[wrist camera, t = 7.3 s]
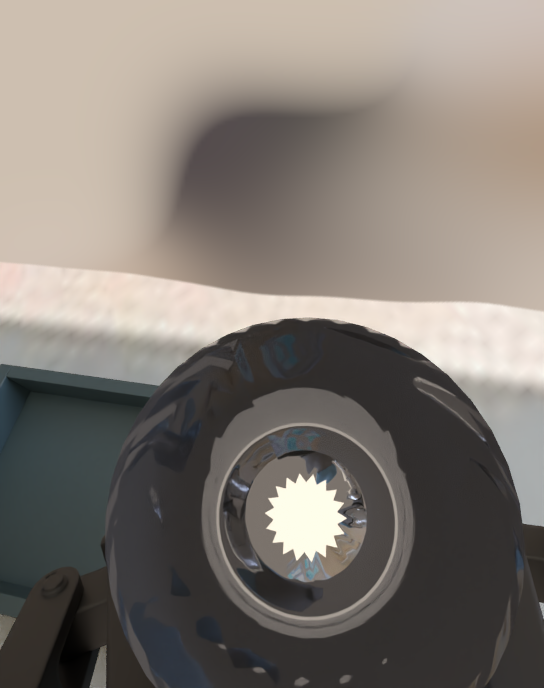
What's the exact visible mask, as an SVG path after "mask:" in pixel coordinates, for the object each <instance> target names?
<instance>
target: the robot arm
mask: <svg viewBox="0 0 544 688" xmlns="http://www.w3.org/2000/svg"><path fill="white" fill-rule="evenodd" d="M522 526H523V534H524V542H525V553H524V577H523V590H522V595H521V599H520V603H519V608H518V612H517V617H516V621H515V625H514V630H513V633H512V635H511V637H510V640H509V642H508V644H507V646H506V649H505V651H504V653H503V655H502V658H501V660H500V662H499V664H498V667H497V669H496V671H495V673H494V675H493V676H492V678H491V679H490V680H489V682H488V683H487V684H486V686H485V687H484V688H544V619H543V615H542V612H541V608H540V604H539V602H542V603H544V527H542V526H534V525H527V524H522ZM100 546H101V549H102V552H103V556H104V559H105V562H106V557H105V535H104V536H103V538H102V540H101V544H100ZM106 565H107V564H106ZM104 645H107V655H106V688H156V687H155V686H154V685H153V683H152V682H151V681H150V680H149V678H148V677H147V676H146V675H145V673H144V671H143V669H142V667H141V665H140V663H139V662H138V660H137V658H136V656H135V654H134V652H133V650H132V649H131V647H130V645H129V643H128V641H127V639H126V637H125V635H124V632H123V629H122V626H121V623H120V620H119V617H118V614H117V611H116V608H115V605H114V602H113V599H112V596H111V590H110V583H109V577H108V570H107V566H105V567H103V568H100V569H98V570H95V571H93V572H90V573H87V574H84V575H82V576H80V575H79V572H78V571H77V569H76V568H73V567H71V566H70V567H61V568H58V569H55V570H53V571H51V572H49V573H48V574H46V575H44V576H43V577H42V578H41V579H40V580H39V581H38V582H36V584H35V585H34V587H33V588H32V589H31V591H30V593H29V595H28V597H27V599H26V601H25V603H24V605H23V607H22V609H21V611H20V613H19V615H18V617H17V618H16V620H15V622H14V624H13V626H12V628H11V630H10V632H9V634H8V636H7V638H6V640H5V642H4V644H3V646H2V648H1V650H0V688H89V687H90V683H91V679H92V676H93V672H94V668H95V664H96V661H97V657H98V653H99V649H100V647H102V646H104Z"/></svg>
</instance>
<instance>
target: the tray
mask: <svg viewBox="0 0 544 688" xmlns="http://www.w3.org/2000/svg"><path fill="white" fill-rule="evenodd" d="M158 387H159V386H156V385H149V384H142V383H134V382H127V381H120V380H113V379H106V378H99V377H91V376H84V375H77V374H70V373H63V372H55V371H48V370H41V369H34V368H27V367H20V366H12V365H5V364H1V365H0V614H2V615H6V616H10V617H14V618H17V617H18V615H19V613H20V611H21V609H22V607H23V605H24V603H25V601H26V599H27V597H28V595H29V593H30V591H31V589H32V588H33V587H34V585H35V584H36V582H38V581H39V580H40V579H41V578H42V577H43V576H44V575H46V574H48V573H49V572H51V571H53V570H55V569H58V568H61V567H70V566H71V567H73V568H76V569H77V571H78V572H79V575H80V576H82V575H84V574H87V573H90V572H93V571H95V570H98V569H100V568H103V567H105V566H107V565H106V562H105V559H104V556H103V552H102V549H101V546H100V544H101V540H102V538H103V536H104V535H105V517H106V510H107V503H108V497H109V491H110V485H111V479H112V476H113V473H114V470H115V467H116V464H117V461H118V458H119V455H120V452H121V449H122V446H123V444H124V442H125V440H126V438H127V436H128V434H129V432H130V430H131V428H132V426H133V424H134V422H135V420H136V418H137V416H138V414H139V413H140V411H141V410H142V409H143V407H144V406H145V404H146V403H147V402H148V400H149V399H150V397H151V396H152V395H153V393H154V392H155V390H156V389H157V388H158Z"/></svg>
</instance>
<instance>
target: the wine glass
mask: <svg viewBox="0 0 544 688" xmlns="http://www.w3.org/2000/svg"><path fill="white" fill-rule="evenodd" d="M524 553H525V542H524V534H523V526H522V518H521V511H520V503H519V500H518V496H517V493H516V490H515V486H514V483H513V480H512V476H511V473H510V470H509V466H508V464H507V462H506V459H505V457H504V455H503V453H502V451H501V449H500V447H499V445H498V443H497V441H496V439H495V436H494V434H493V432H492V430H491V429H490V427H489V426H488V424H487V423H486V421H485V420H484V419H483V417H482V416H481V414H480V413H479V411H478V410H477V408H476V407H475V405H474V404H473V402H472V401H471V400H470V399H469V398H468V396H467V395H466V394H465V393H464V392H463V391H462V390H461V389H460V388H459V387H458V386H457V385H456V384H455V382H454V381H453V380H452V379H451V378H450V377H449V376H448V375H447V374H446V373H444V372H443V371H442V370H441V369H439V368H438V367H437V366H436V365H435V364H433V363H432V362H431V361H430V360H428V359H427V358H426V357H425V356H423V355H422V354H420V353H419V352H417V351H415V350H414V349H412V348H410V347H408V346H407V345H405V344H403V343H402V342H400V341H398V340H397V339H395V338H392V337H390V336H387V335H385V334H382V333H380V332H377V331H375V330H372V329H370V328H368V327H364V326H360V325H356V324H352V323H347V322H343V321H339V320H330V319H319V318H295V319H280V320H275V321H270V322H266V323H261V324H256V325H252V326H250V327H247V328H244V329H241V330H239V331H236V332H233V333H231V334H228V335H226V336H224V337H222V338H220V339H218V340H217V341H215V342H213V343H211V344H209V345H208V346H206V347H204V348H202V349H201V350H199V351H198V352H197V353H195V354H194V355H193V356H192V357H190V358H189V359H188V360H186V361H185V362H184V363H182V364H181V365H180V366H178V367H177V368H176V369H175V370H174V371H173V372H172V373H171V375H170V376H169V377H168V378H167V379H166V380H165V381H164V382H163V383H162V384H161V385H160V386H159V387H158V388H157V389H156V390H155V392H154V393H153V395H152V396H151V397H150V399H149V400H148V402H147V403H146V404H145V406H144V407H143V409H142V410H141V411H140V413H139V414H138V416H137V418H136V420H135V422H134V424H133V426H132V428H131V430H130V432H129V434H128V436H127V438H126V440H125V442H124V444H123V446H122V449H121V452H120V455H119V458H118V461H117V464H116V467H115V470H114V473H113V476H112V479H111V485H110V491H109V497H108V503H107V510H106V517H105V557H106V564H107V570H108V577H109V583H110V590H111V596H112V599H113V602H114V605H115V608H116V611H117V614H118V617H119V620H120V623H121V626H122V629H123V632H124V635H125V637H126V639H127V641H128V643H129V645H130V647H131V649H132V650H133V652H134V654H135V656H136V658H137V660H138V662H139V663H140V665H141V667H142V669H143V671H144V673H145V675H146V676H147V677H148V678H149V680H150V681H151V682H152V683H153V685H154V686H155V687H156V688H484V687H485V686H486V684H487V683H488V682H489V680H490V679H491V678H492V676H493V675H494V673H495V671H496V669H497V667H498V664H499V662H500V660H501V658H502V655H503V653H504V651H505V649H506V646H507V644H508V642H509V640H510V637H511V635H512V633H513V630H514V625H515V621H516V617H517V612H518V608H519V603H520V599H521V595H522V590H523V577H524Z"/></svg>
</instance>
